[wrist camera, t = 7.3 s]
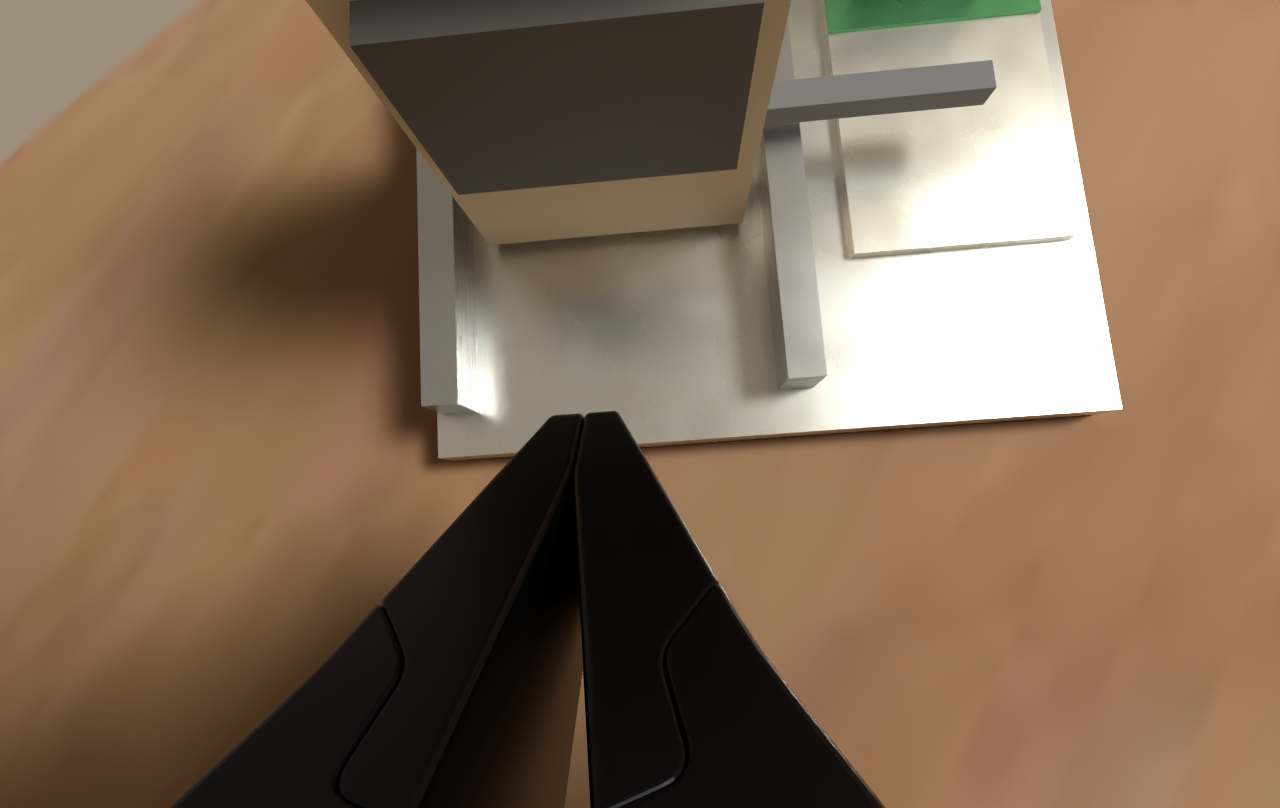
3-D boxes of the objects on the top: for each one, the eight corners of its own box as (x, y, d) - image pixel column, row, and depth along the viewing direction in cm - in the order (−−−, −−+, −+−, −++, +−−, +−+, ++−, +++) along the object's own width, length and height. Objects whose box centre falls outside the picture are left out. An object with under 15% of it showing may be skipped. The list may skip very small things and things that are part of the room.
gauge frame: (1094, 414, 16) (1170, 398, 13) (452, 461, 17) (412, 454, 14) (1013, -70, 18) (1066, -161, 15) (440, -8, 19) (403, -86, 16)
